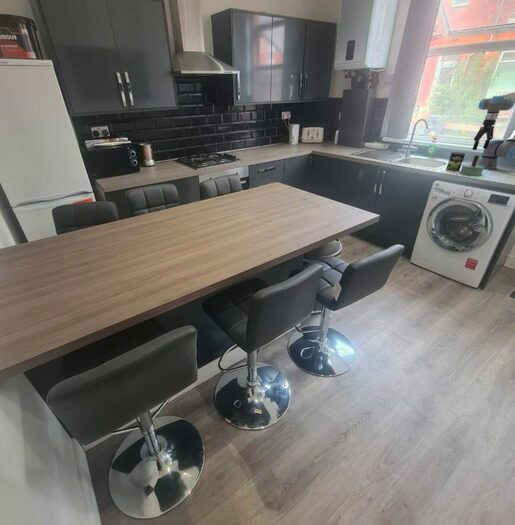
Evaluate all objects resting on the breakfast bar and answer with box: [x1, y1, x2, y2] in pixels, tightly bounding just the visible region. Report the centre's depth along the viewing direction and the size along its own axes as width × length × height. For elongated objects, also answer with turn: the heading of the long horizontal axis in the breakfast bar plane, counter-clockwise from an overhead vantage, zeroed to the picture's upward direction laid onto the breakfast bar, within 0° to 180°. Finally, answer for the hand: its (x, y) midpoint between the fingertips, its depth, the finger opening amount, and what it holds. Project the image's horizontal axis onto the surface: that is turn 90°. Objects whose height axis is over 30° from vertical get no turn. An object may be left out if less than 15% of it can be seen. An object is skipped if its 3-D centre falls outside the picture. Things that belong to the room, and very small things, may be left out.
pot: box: [459, 165, 485, 177], centre depth 240 cm, size 15×15×6 cm
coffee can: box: [445, 151, 466, 173], centre depth 249 cm, size 10×10×14 cm
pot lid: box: [461, 154, 485, 169], centre depth 236 cm, size 16×16×9 cm
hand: (479, 149), depth 231 cm, fingers open, 13 cm apart
